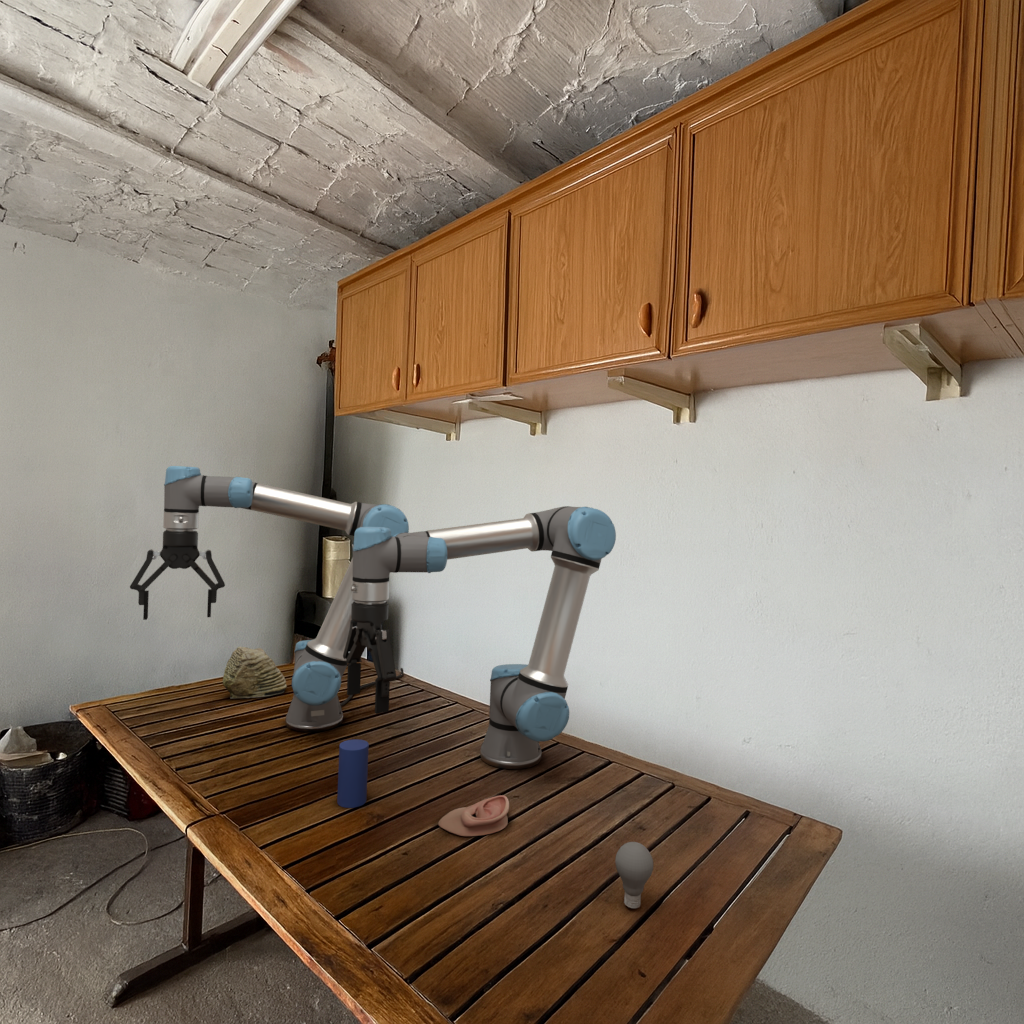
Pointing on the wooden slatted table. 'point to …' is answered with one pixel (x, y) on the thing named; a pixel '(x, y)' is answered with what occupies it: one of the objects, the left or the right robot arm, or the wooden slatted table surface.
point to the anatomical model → (478, 817)
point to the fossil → (252, 674)
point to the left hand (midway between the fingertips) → (177, 617)
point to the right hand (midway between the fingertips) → (367, 702)
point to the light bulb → (633, 871)
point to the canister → (352, 773)
